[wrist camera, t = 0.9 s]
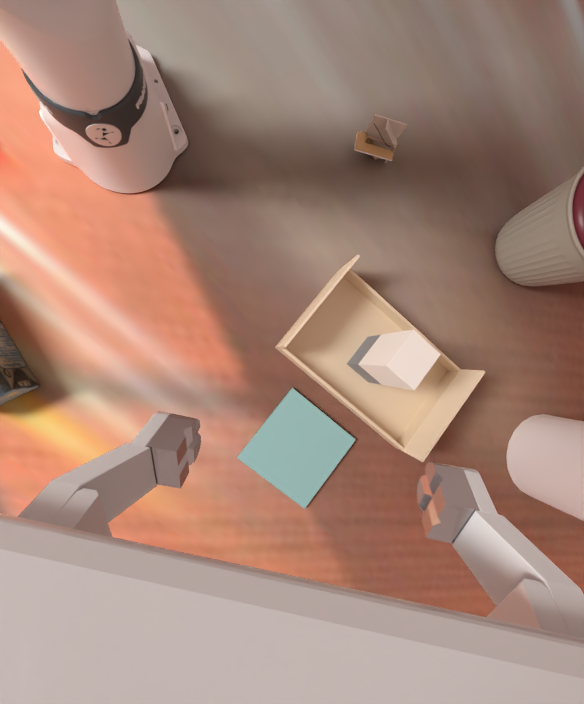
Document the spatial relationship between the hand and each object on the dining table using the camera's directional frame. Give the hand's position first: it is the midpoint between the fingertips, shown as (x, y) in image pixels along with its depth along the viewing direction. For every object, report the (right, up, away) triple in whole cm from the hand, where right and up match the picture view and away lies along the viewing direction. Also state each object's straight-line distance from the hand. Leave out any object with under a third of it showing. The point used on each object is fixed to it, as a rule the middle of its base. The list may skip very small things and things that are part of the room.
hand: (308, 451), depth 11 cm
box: (+12, +2, +43) cm, 45 cm away
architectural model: (+13, +38, +45) cm, 61 cm away
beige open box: (+12, +2, +43) cm, 45 cm away
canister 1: (+43, +22, +50) cm, 69 cm away
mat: (0, -12, +41) cm, 43 cm away
